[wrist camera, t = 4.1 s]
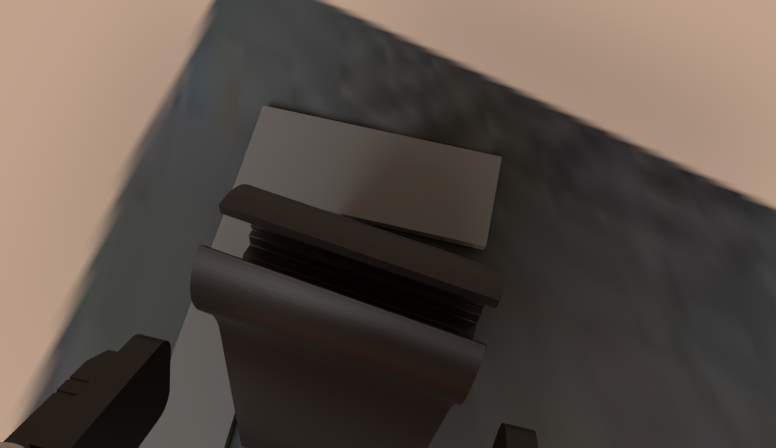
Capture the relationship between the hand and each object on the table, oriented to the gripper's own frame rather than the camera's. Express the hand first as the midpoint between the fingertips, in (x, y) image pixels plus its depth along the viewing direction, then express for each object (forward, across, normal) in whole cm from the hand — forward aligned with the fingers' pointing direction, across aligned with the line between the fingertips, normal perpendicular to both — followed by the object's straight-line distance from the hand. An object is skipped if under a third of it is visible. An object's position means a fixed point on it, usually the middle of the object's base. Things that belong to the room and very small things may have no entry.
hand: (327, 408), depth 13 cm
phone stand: (+8, 0, +4) cm, 9 cm away
